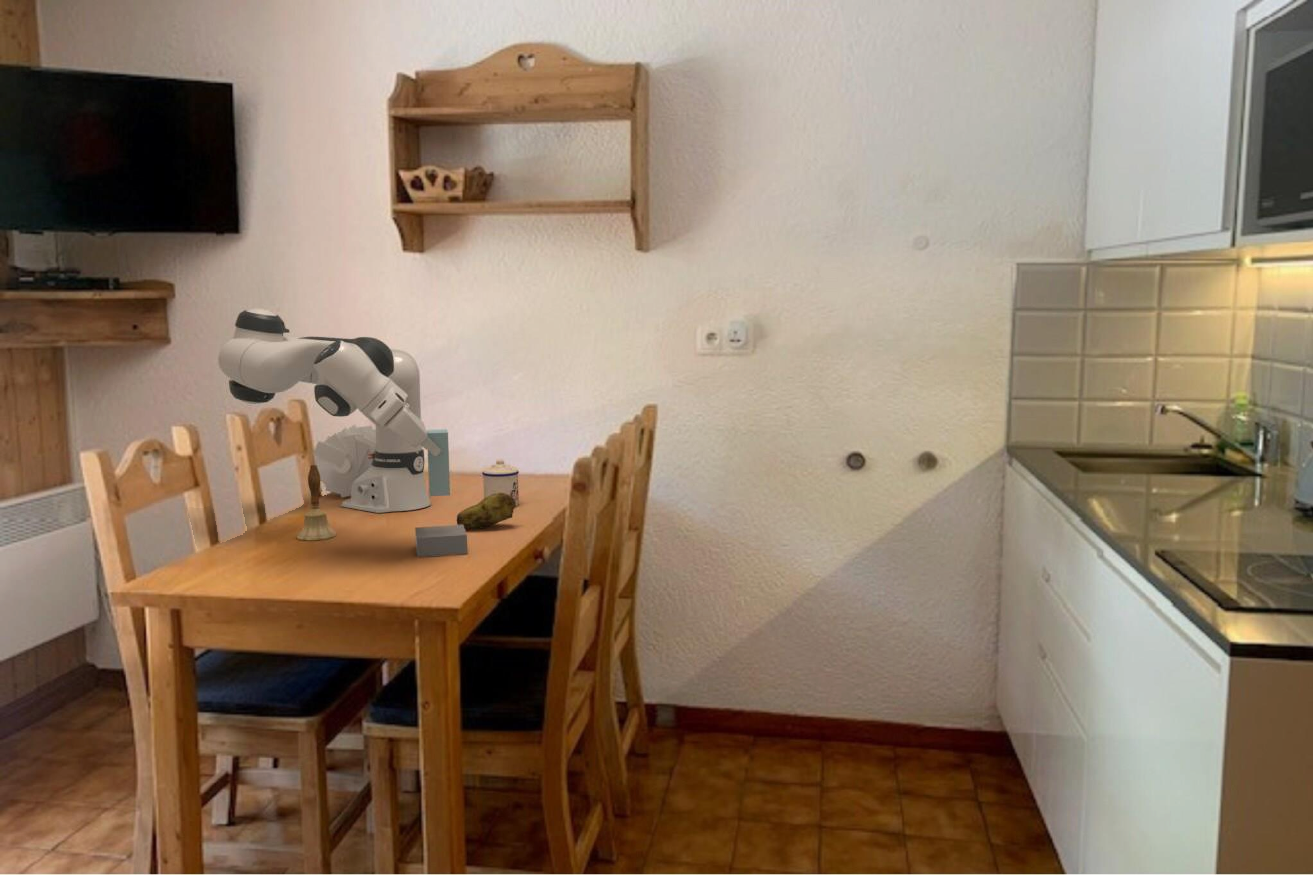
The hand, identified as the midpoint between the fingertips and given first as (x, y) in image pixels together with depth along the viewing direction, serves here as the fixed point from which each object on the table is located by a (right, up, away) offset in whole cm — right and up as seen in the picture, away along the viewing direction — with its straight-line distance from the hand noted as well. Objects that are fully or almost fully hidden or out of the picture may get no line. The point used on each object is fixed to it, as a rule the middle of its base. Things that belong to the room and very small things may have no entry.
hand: (437, 451), depth 214 cm
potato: (+6, -18, +23) cm, 30 cm away
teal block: (0, -9, +1) cm, 9 cm away
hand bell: (-30, -19, +16) cm, 39 cm away
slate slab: (0, -21, +3) cm, 21 cm away
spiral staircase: (-36, -12, +69) cm, 79 cm away
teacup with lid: (+6, -14, +49) cm, 52 cm away
